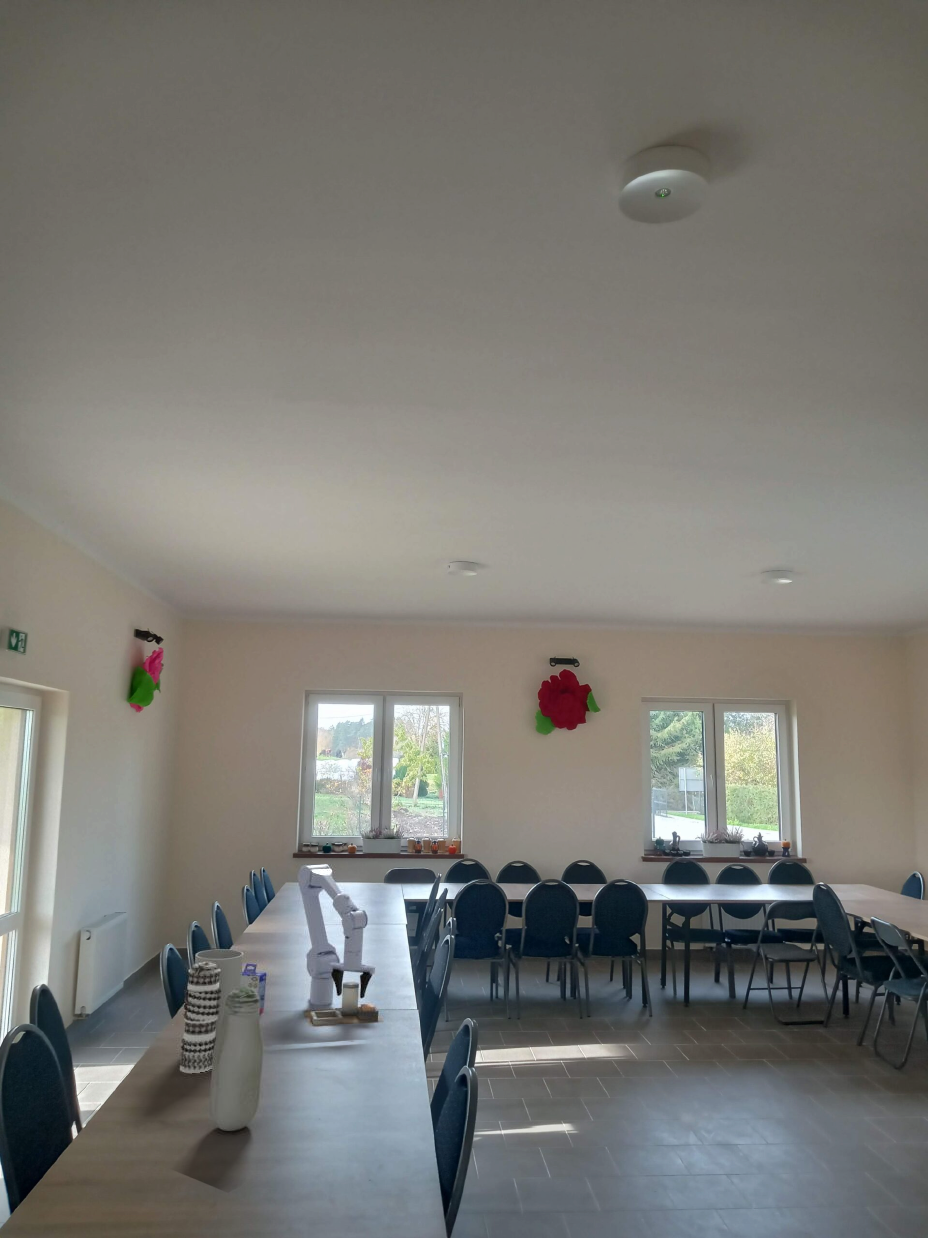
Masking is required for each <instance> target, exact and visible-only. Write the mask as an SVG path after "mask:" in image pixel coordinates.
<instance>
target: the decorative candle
mask: <svg viewBox="0 0 928 1238" xmlns="http://www.w3.org/2000/svg"><path fill="white" fill-rule="evenodd" d="M220 970H221V969H220V968H218V966H217V964H216V963H213V962H199V963H196V964H195V963H194V964H192V967H191V968H190V969H188V972H189V976H188V982H187V987H185V990H183V993H184V995H185V997H184V1005H183V1009H184V1013H183V1021H184V1023H185V1024H184V1030H183V1038H182V1039H181V1043H182V1045H181V1046H180V1048H181V1052H180V1060H179V1071H180V1072H182V1073H184V1074H192V1073H196V1074H201V1073H200V1072H204V1073H206V1072H205V1071H208V1070H210V1069H212V1062H213V1051H214V1045H215V1043H214V1042H215V1041H216V1037H215V1032H216V1029H215V1023H216V1020H217V1019H218V1015H217V1014H218V1013H219V1011H218V1010H216V1009H217V1008H218V1007H219V1006H220V1005H219V1004H218V1003H217V1000H219V999H220V998H221V997H220V996H219V995H218V994H219V993H221V989H218V988H219V971H220ZM210 1071H211V1070H210ZM208 1072H209V1071H208ZM192 1075H193V1074H192Z"/></svg>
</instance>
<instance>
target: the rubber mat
mask: <svg viewBox="0 0 928 1238" xmlns="http://www.w3.org/2000/svg"><path fill="white" fill-rule="evenodd" d="M334 1009H335V1010H338V1011H339V1012H340V1014H341V1016H354V1015H356V1013H343V1012H342V1007H335V1008H334Z"/></svg>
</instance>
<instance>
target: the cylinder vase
mask: <svg viewBox="0 0 928 1238" xmlns="http://www.w3.org/2000/svg"><path fill="white" fill-rule="evenodd" d="M194 959H195V960H194V964H196V963H199V962H213V963H216V964H217V966H218V968H220V969H221V970H220V971H219V988H218V989H221V993H219V994H218V995H219V996H220V997H221V998H220V999H219V1000H217V1003H218V1004H219V1005H220V1006H219V1007H218V1008H217V1009H216V1010H218V1011H219V1013H218V1014H217V1015H218V1019H217V1020H216V1023H215V1029H216V1032H215V1037H216V1038H217V1035H218V1032H219V1030H220V1027H221V1023H222V1019H223V1015H224V1012H225V1001H226V998H227V997H228V995H229V994H230V993H231V992H232V991H233V990H235V989H238V988H241V978H242V971H243V964H244V963H243V962H244V952H242V951H239V950H236V949H228V948H227V949H226V948H225V949H223V948H220V949H219V948H218V949H209V950H208V949H207V950H202V951H198V952H197V953H195V958H194ZM215 1042H216V1041H215ZM215 1042H214V1043H215Z"/></svg>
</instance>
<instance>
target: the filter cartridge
mask: <svg viewBox="0 0 928 1238" xmlns="http://www.w3.org/2000/svg"><path fill="white" fill-rule="evenodd" d="M359 991H360V983H359V982H356V981H347V982H346V981H345V982H342V994H341V995H342V996H341V1008H342V1012H343V1013H356V1012H357V1007H359V996H360V992H359Z"/></svg>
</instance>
